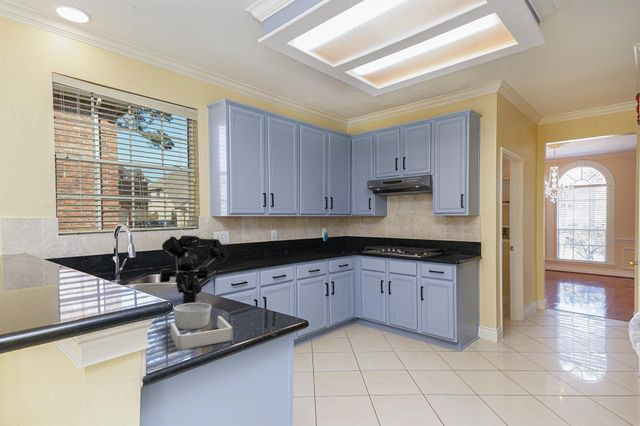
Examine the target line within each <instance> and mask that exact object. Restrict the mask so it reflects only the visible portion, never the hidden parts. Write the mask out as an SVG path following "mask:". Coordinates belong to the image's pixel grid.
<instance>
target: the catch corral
mask: <svg viewBox="0 0 640 426" xmlns="http://www.w3.org/2000/svg"><path fill="white" fill-rule="evenodd" d="M170 337H171V339H172V341H173V343H174V345H175V347H176V349H177V351H182V350H187V349H191V348H198V347H203V346H208V345H215V344H218V343H219V344H221V343H225V342H230V341H233V340H234V328H233V326H231V324H229V322H228V321H227V320H225V319H224V317H222V316H221V315H218V316H217V329H212V330H207V331H200V332H194V333H188V334H181V333H180V331H179V328H178V327H177V326H176V324H175V322H170Z"/></svg>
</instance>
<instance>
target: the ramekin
mask: <svg viewBox="0 0 640 426" xmlns="http://www.w3.org/2000/svg"><path fill="white" fill-rule="evenodd" d="M211 310H212V305H211V304H209V303H207V302H196V303H187V304H183V303H181V304H178V305H176V306H174V307H173V314H174V324H175V325H176V327H177V329H178V330H179V329H180V330H199V329H201V328H204V327H206V326H207V325H208V323H209V321H210V315H211Z"/></svg>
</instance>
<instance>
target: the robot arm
mask: <svg viewBox="0 0 640 426" xmlns="http://www.w3.org/2000/svg"><path fill="white" fill-rule="evenodd" d="M199 247H208V253H209V256H208V258H207V259H206V260H205V261H204V262H202V263H201V264H200V265H199V266H198V267H196V268H195V269H193V267H194V266H193V264H197V263H198V255H197V254H192V253H191V252H190V250H189V249H196V248H197V249H198V248H199ZM161 248H162V250H164V251H165V252H166V253H167V254H169V256H172V257H175V264H176V271H172V268H162V269H161V270H160V274H159V282H160V283H169V282H170V281H171V278H175V281H174V283H176V287H177V291H178V293H179V294H182V304H187V303H197V295H198V294H200V293H201V292H202V286H201V285H200V280H205V279H207V278H208V276H209V272H210V271H211V270H212V269H213V268H214V267H216V265H219V264H221V263H224V262H225V261H226V260H227V259H228V258H229V252H228V250H227V248H226V246H224V245H223V244H222V243H221V241H220V240H219V239H216V238H200V237H199V236H196V235H181V236H180V238H178V239H177V237H176V236H170V237H169V238H168V239H166V240H165V241H164V242H163V243H162V245H161Z"/></svg>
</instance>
